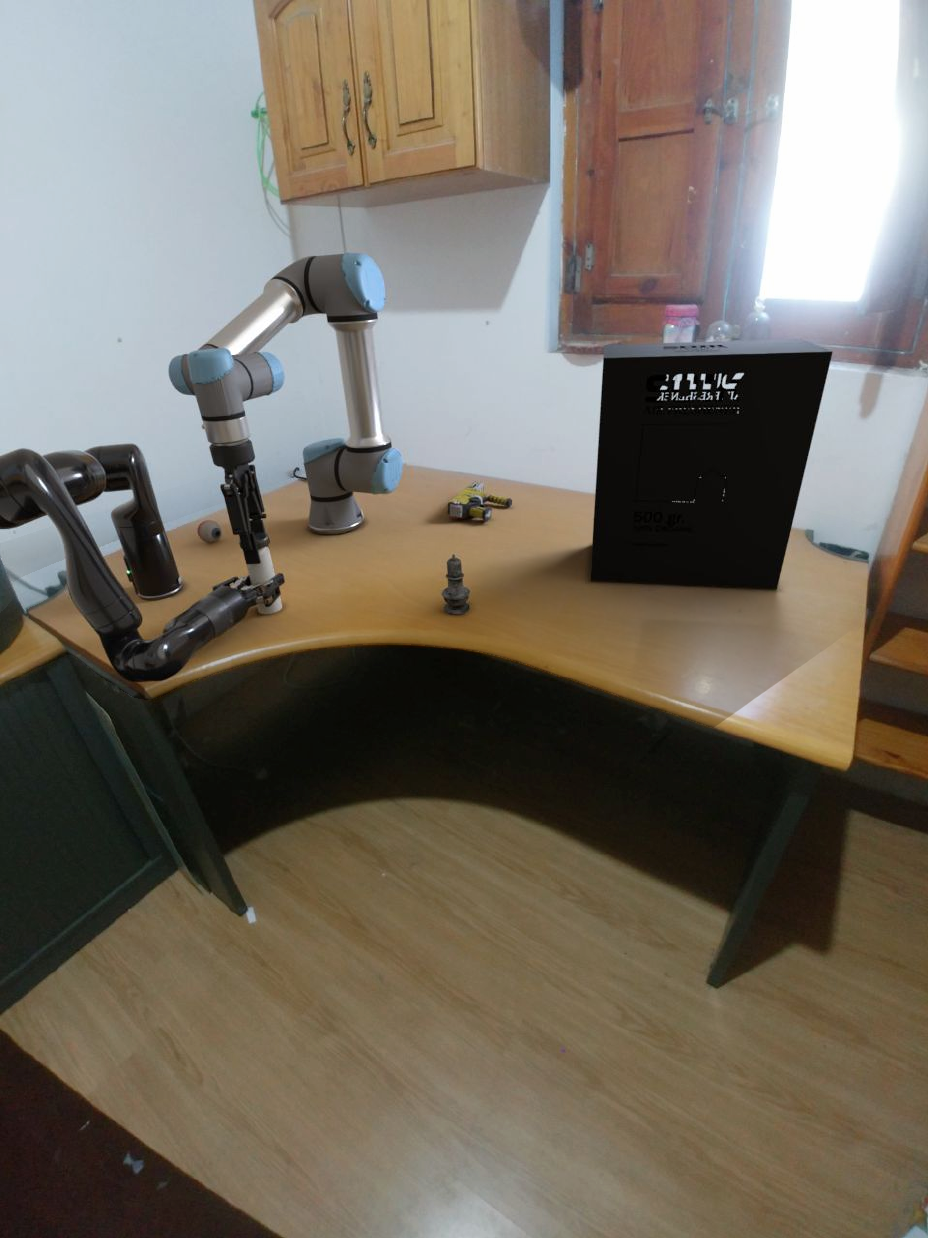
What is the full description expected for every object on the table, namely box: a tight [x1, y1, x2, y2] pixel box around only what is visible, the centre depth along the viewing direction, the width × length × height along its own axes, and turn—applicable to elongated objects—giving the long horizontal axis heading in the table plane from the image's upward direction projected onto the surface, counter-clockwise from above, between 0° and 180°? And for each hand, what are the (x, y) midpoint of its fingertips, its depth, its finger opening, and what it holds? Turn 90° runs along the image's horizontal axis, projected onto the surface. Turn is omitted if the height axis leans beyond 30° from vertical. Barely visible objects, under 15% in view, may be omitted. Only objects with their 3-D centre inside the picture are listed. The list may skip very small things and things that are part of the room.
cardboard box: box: [589, 338, 834, 590], centre depth 125 cm, size 38×20×45 cm, turn 78°
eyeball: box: [197, 519, 223, 544], centre depth 161 cm, size 6×6×6 cm
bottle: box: [245, 546, 283, 615], centre depth 125 cm, size 5×5×15 cm
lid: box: [238, 532, 271, 550], centre depth 121 cm, size 6×6×2 cm
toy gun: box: [446, 480, 513, 523], centre depth 174 cm, size 5×24×15 cm
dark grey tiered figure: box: [441, 553, 471, 615], centre depth 121 cm, size 6×6×12 cm
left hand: (271, 575), depth 127 cm, fingers closed on bottle, 5 cm apart
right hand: (258, 556), depth 122 cm, fingers closed on lid, 6 cm apart
